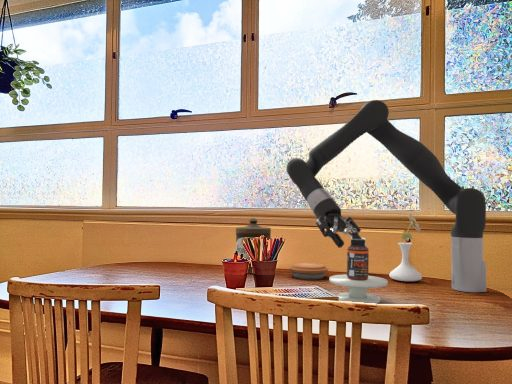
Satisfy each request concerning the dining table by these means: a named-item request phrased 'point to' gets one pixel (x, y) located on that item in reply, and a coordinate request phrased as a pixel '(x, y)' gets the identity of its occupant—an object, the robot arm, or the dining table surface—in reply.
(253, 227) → the grey lidded jar
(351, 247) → the supplement bottle
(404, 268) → the flower in vase
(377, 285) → the cake stand
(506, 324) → the dining table surface
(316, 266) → the pie
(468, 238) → the robot arm
